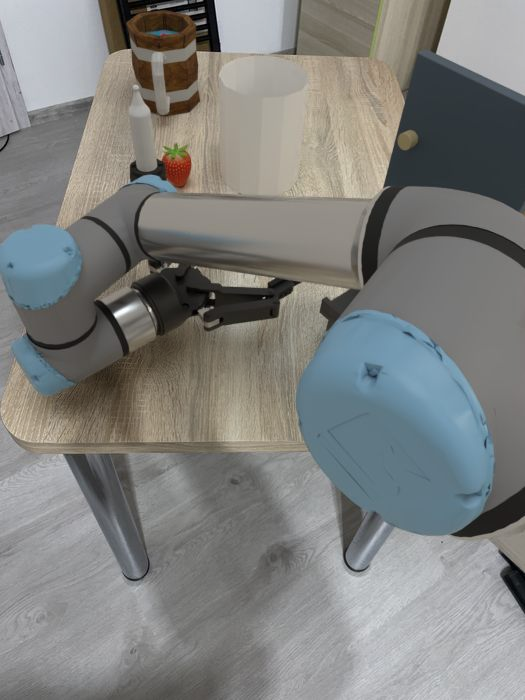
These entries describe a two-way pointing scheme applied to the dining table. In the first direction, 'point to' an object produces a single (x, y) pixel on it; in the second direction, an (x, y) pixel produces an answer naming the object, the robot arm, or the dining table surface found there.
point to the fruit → (177, 164)
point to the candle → (143, 141)
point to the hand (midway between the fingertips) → (273, 243)
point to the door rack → (455, 141)
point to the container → (261, 123)
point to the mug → (165, 61)
